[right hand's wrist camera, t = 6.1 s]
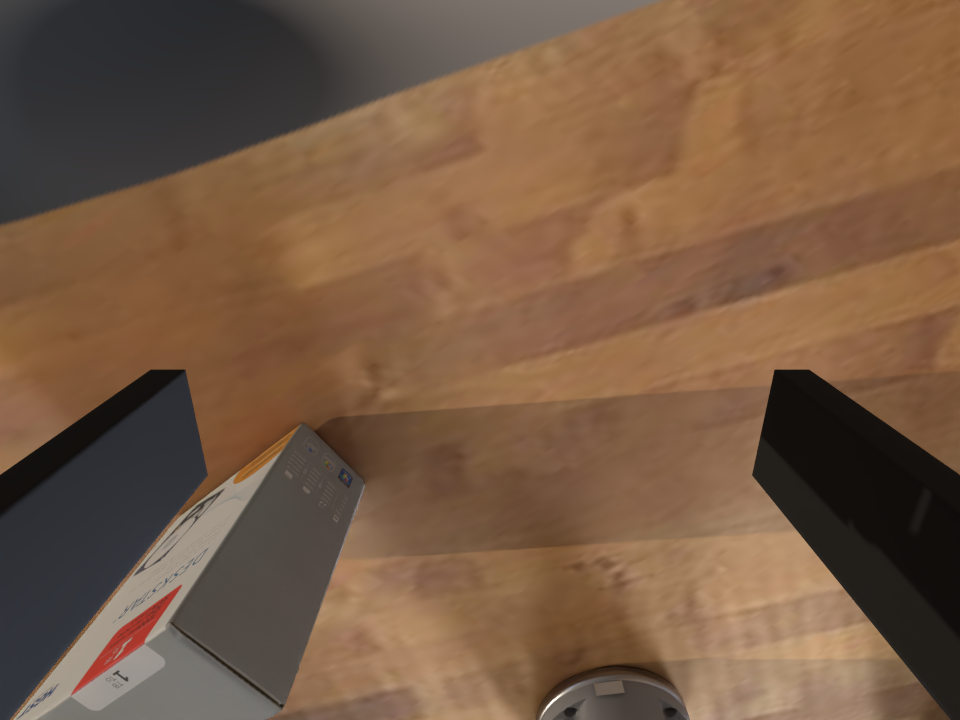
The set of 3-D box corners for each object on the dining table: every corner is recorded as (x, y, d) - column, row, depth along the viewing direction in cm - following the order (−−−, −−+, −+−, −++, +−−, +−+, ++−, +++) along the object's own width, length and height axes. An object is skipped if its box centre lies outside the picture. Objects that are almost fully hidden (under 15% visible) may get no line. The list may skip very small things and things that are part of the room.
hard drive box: (303, 417, 44) (174, 621, 25) (369, 481, 46) (294, 712, 27) (174, 517, 47) (-23, 760, 29) (240, 572, 50) (98, 831, 31)
